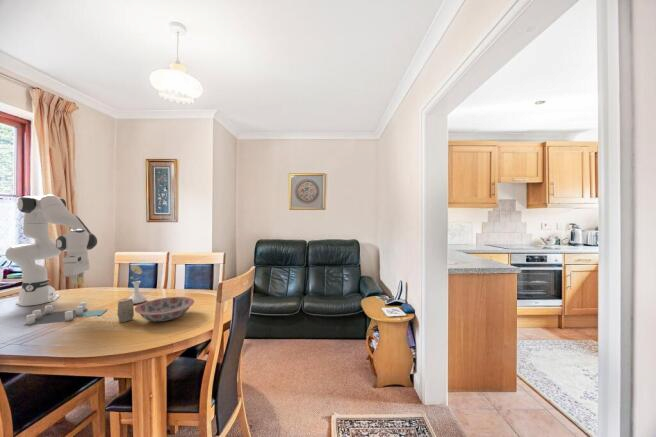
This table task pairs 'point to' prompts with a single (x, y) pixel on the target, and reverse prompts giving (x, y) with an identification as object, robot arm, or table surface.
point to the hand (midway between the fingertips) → (77, 281)
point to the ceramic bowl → (164, 308)
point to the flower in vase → (136, 287)
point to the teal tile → (93, 313)
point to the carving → (125, 310)
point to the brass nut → (79, 280)
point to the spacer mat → (54, 315)
